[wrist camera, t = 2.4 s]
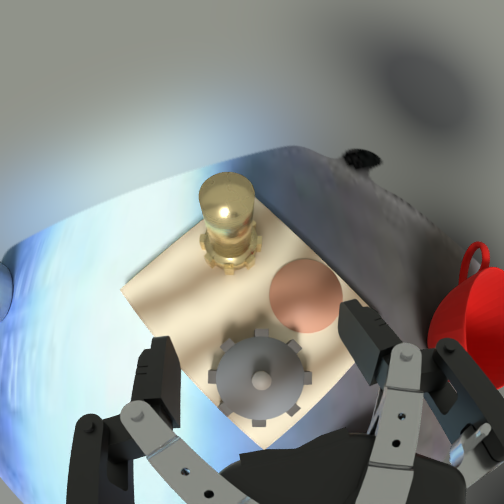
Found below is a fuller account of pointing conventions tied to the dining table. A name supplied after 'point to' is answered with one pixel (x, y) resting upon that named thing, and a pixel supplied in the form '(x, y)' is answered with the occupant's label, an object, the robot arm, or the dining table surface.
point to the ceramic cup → (475, 315)
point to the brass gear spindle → (229, 222)
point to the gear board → (250, 325)
